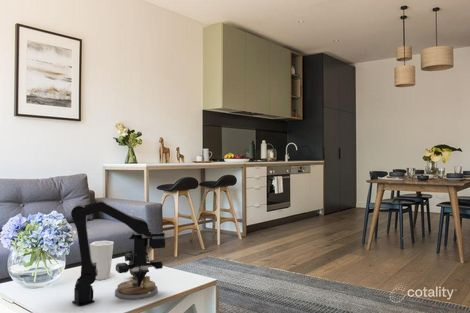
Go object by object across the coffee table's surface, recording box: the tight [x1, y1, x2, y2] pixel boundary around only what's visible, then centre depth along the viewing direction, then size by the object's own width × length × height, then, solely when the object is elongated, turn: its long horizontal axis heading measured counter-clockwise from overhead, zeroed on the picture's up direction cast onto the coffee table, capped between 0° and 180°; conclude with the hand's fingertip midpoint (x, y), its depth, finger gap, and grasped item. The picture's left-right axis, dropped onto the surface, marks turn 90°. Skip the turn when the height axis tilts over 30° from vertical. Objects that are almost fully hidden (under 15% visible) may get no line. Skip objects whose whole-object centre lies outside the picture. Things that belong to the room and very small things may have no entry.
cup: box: [89, 240, 115, 281], centre depth 198 cm, size 11×10×17 cm
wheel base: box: [114, 284, 158, 301], centre depth 176 cm, size 18×18×2 cm
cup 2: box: [128, 262, 136, 280], centre depth 197 cm, size 8×7×8 cm
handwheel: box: [116, 275, 156, 295], centre depth 176 cm, size 16×16×6 cm
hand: (138, 286), depth 170 cm, fingers closed
